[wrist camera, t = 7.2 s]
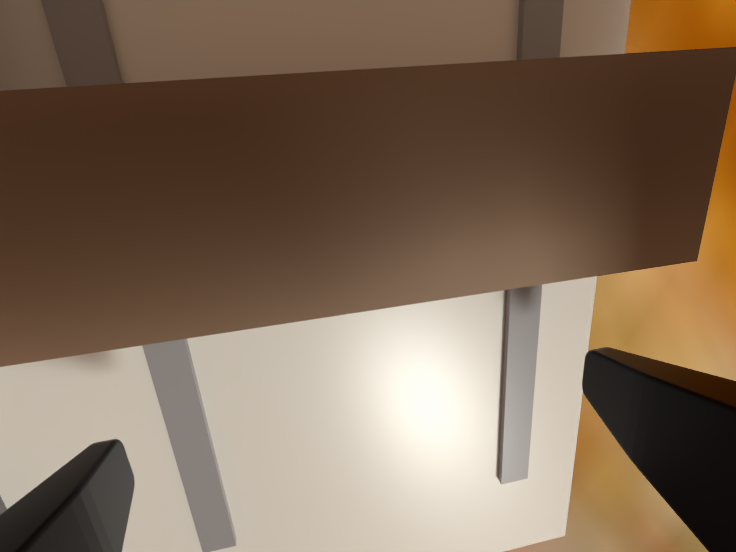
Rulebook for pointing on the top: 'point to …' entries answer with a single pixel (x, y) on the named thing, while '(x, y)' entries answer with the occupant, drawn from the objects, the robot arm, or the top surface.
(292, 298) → the slider bar
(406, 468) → the panel
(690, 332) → the top surface
